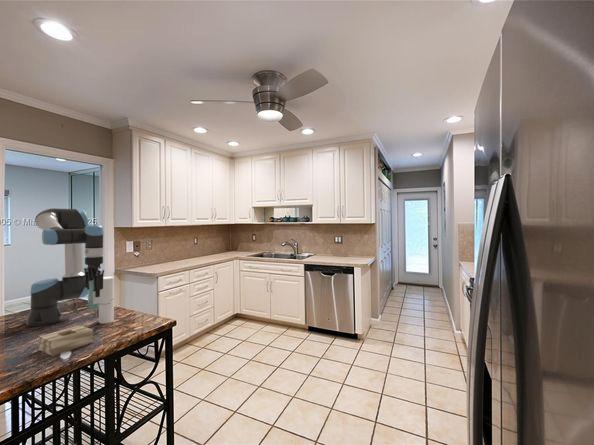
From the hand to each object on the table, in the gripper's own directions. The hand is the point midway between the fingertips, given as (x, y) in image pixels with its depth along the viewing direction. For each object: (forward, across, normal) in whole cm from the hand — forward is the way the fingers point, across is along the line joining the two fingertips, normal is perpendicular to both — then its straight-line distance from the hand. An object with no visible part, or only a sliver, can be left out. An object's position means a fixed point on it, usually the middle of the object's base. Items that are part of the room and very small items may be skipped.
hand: (93, 302), depth 147 cm
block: (+17, +2, -13) cm, 21 cm away
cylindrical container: (+17, -15, +15) cm, 27 cm away
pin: (+3, 0, 0) cm, 3 cm away
